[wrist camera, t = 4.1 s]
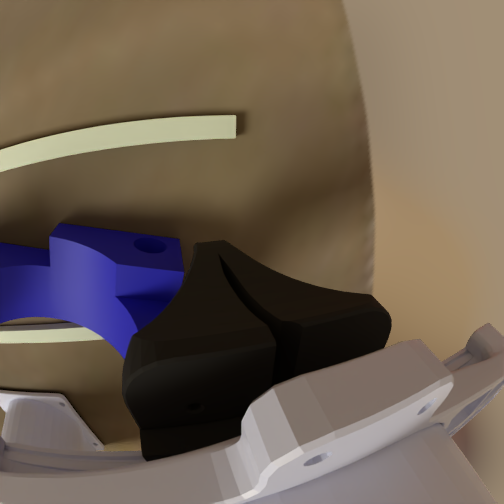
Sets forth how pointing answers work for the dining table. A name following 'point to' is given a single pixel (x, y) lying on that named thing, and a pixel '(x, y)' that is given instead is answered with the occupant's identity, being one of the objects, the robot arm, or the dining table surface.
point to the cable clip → (92, 280)
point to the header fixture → (96, 141)
